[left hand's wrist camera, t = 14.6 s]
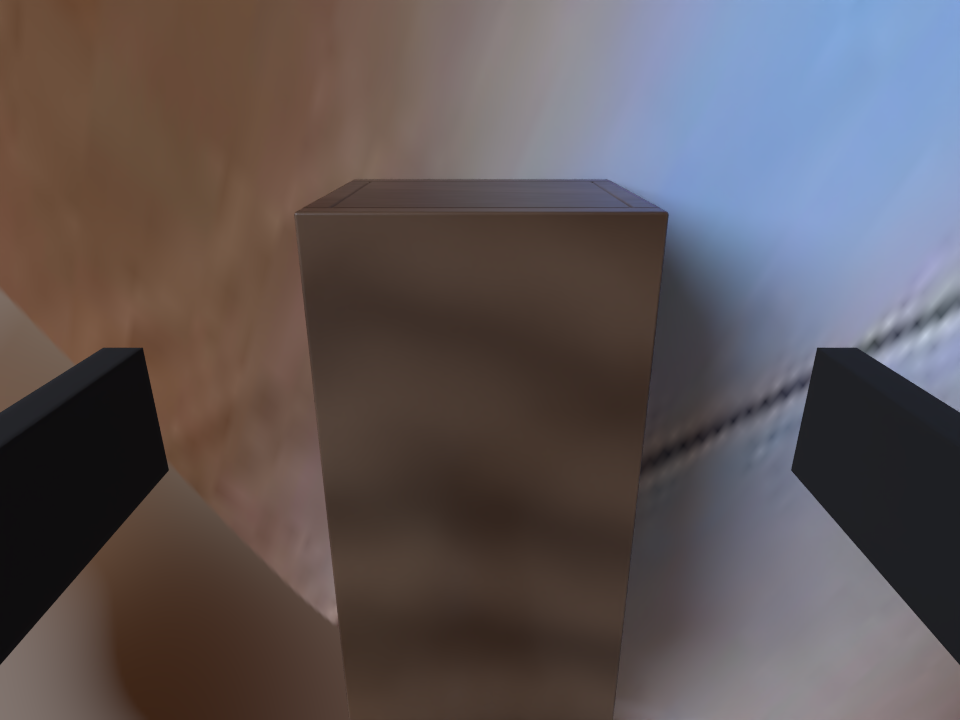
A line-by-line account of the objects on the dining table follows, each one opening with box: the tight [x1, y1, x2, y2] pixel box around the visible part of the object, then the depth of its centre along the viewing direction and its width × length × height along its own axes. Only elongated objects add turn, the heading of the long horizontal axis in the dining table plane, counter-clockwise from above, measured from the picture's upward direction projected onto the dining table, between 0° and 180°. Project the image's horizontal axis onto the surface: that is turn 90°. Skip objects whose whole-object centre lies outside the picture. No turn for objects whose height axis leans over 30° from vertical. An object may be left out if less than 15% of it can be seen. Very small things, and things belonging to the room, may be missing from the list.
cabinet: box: [294, 180, 669, 720], centre depth 25 cm, size 20×10×8 cm, turn 0°
